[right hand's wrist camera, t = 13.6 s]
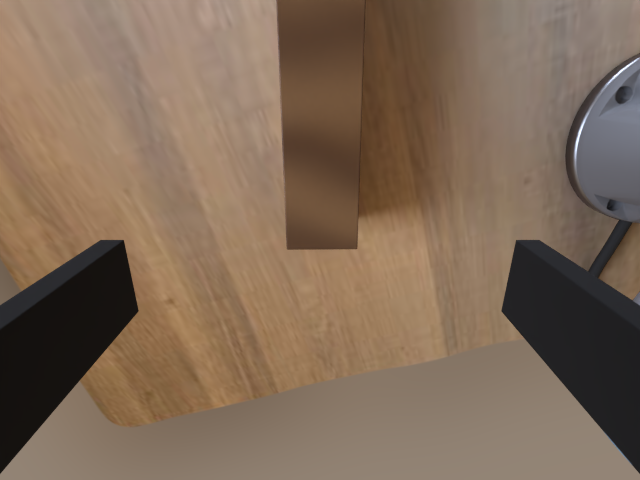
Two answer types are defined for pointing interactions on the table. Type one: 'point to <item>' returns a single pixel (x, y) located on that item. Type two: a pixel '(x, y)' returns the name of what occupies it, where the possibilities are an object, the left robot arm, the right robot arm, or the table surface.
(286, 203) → the beam
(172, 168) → the table surface
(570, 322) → the right robot arm
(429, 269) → the table surface
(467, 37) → the table surface
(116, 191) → the table surface
